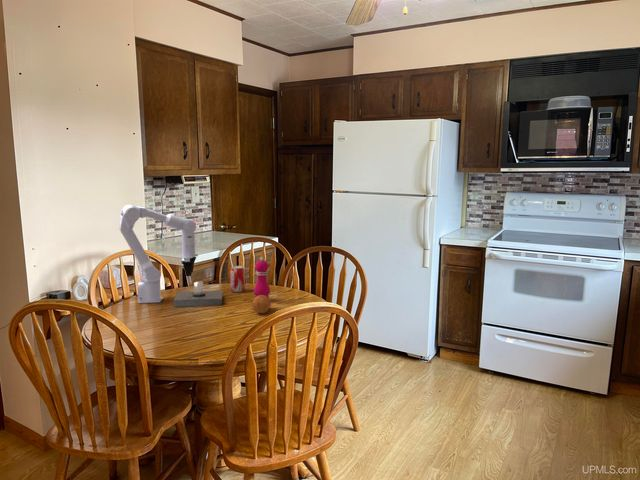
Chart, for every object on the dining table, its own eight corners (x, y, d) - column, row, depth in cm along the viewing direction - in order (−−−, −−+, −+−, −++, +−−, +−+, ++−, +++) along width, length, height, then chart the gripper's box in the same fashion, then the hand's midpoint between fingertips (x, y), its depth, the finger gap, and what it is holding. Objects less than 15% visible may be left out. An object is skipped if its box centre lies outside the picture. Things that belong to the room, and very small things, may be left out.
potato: (249, 315, 193) (249, 298, 192) (256, 306, 206) (256, 291, 205) (266, 316, 192) (266, 299, 191) (273, 307, 205) (273, 291, 204)
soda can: (243, 292, 229) (243, 268, 227) (229, 292, 229) (228, 268, 227) (246, 289, 236) (245, 265, 234) (232, 289, 236) (231, 265, 234)
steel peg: (194, 303, 211) (193, 283, 209) (194, 300, 214) (193, 281, 213) (203, 302, 212) (203, 283, 210) (203, 300, 215) (202, 280, 214)
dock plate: (174, 307, 205) (173, 300, 204) (178, 298, 218) (177, 292, 218) (221, 305, 208) (221, 298, 207) (222, 296, 222) (222, 290, 221)
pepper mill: (271, 298, 219) (271, 256, 216) (268, 302, 212) (268, 258, 209) (256, 298, 220) (255, 255, 217) (252, 302, 213) (251, 258, 210)
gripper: (196, 247, 213) (197, 277, 215) (198, 242, 227) (199, 270, 229) (179, 248, 212) (180, 277, 214) (183, 243, 226) (184, 271, 228)
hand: (189, 274), depth 221 cm, fingers open, 7 cm apart
